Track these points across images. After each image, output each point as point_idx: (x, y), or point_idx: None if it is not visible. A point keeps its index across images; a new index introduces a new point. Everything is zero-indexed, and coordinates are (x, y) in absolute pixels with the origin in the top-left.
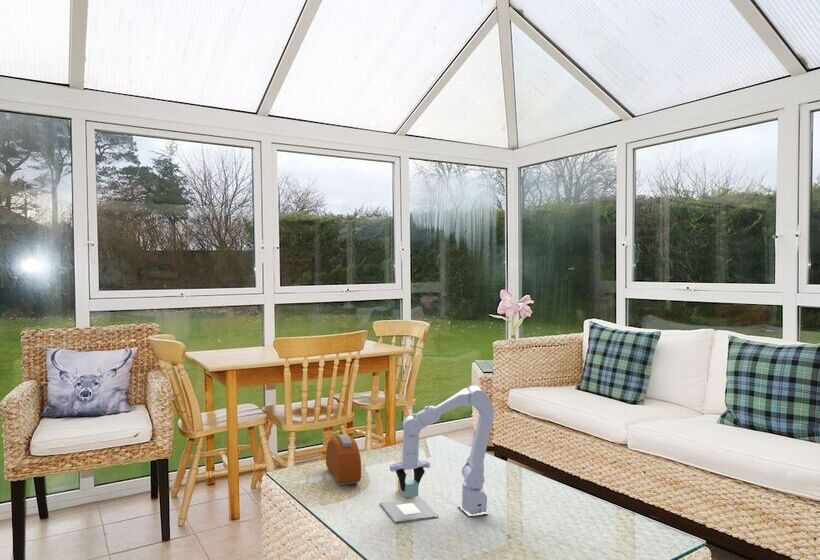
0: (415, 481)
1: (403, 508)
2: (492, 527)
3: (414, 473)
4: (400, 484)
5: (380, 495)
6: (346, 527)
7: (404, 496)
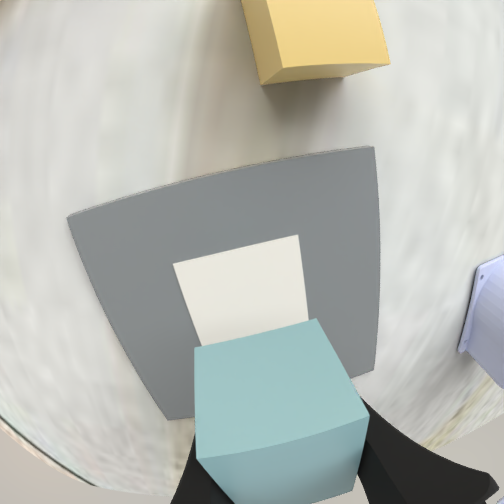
0: (345, 479)
1: (219, 314)
2: (462, 388)
3: (390, 494)
4: (194, 457)
5: (85, 59)
6: (11, 404)
7: (265, 84)
